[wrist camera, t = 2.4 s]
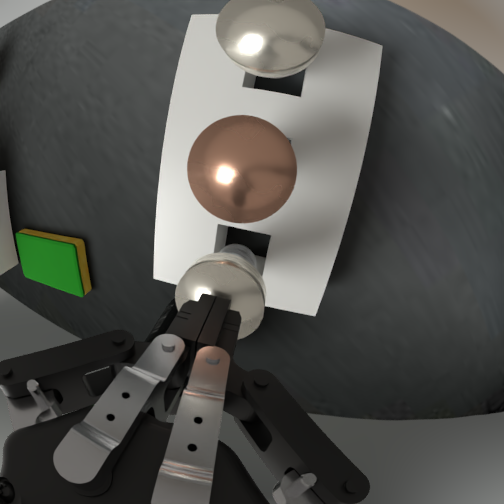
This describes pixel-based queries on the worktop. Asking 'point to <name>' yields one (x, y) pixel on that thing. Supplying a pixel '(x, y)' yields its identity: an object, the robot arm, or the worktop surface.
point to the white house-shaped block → (6, 230)
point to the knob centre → (242, 169)
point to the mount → (305, 148)
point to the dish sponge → (54, 260)
